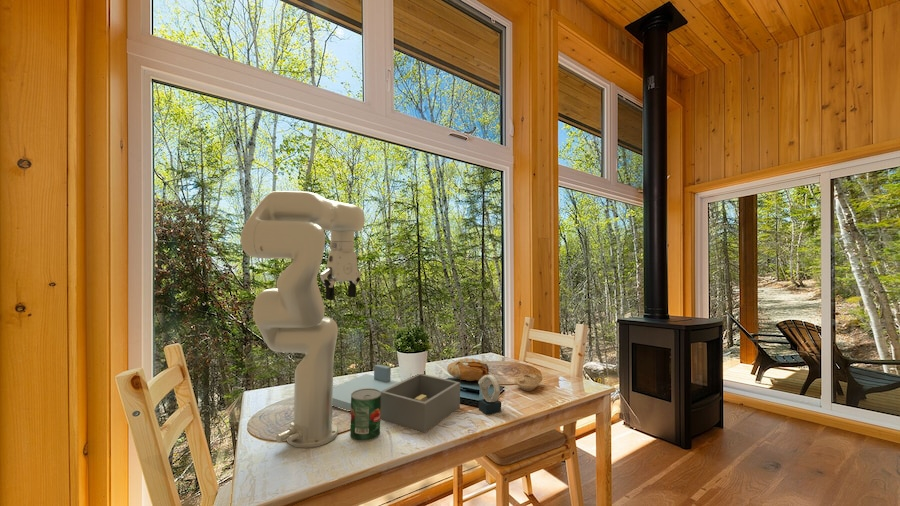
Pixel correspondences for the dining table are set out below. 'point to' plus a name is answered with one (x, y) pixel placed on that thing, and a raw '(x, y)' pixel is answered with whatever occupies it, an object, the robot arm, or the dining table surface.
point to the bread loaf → (468, 369)
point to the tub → (420, 402)
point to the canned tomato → (365, 415)
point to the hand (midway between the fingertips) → (341, 298)
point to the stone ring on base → (489, 403)
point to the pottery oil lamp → (528, 381)
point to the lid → (362, 386)
